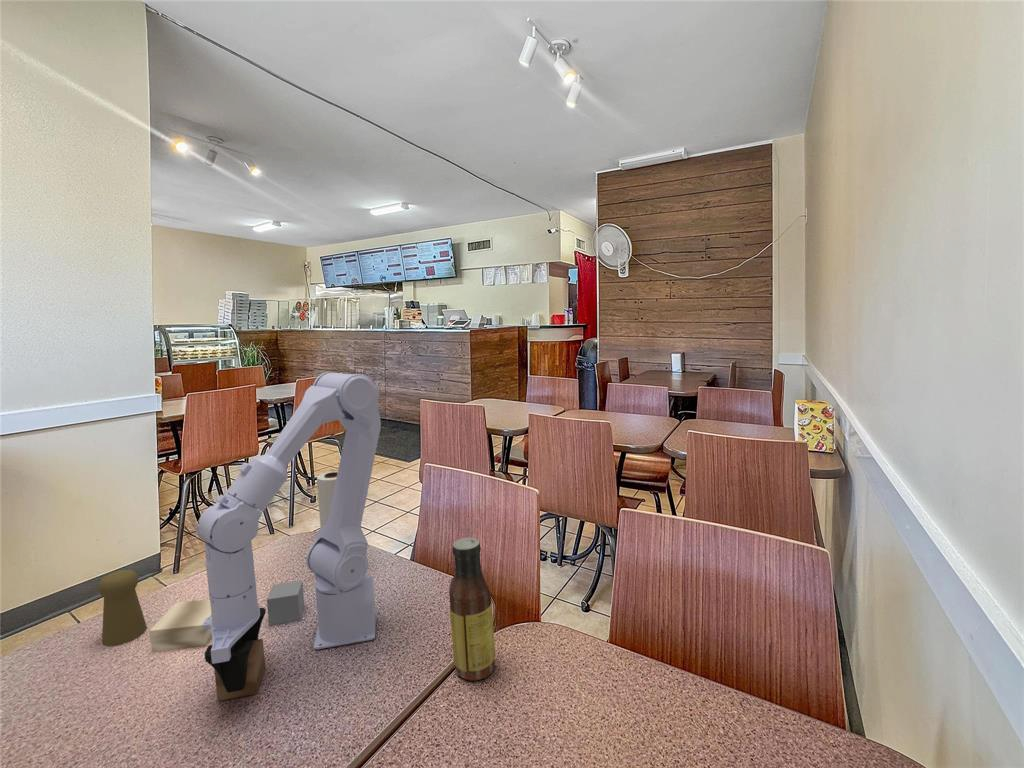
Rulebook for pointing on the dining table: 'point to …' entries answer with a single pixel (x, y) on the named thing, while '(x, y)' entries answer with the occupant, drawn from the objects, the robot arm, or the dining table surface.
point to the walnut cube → (252, 677)
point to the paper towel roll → (325, 493)
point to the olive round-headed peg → (121, 608)
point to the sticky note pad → (182, 627)
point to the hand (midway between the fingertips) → (241, 675)
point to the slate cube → (285, 603)
